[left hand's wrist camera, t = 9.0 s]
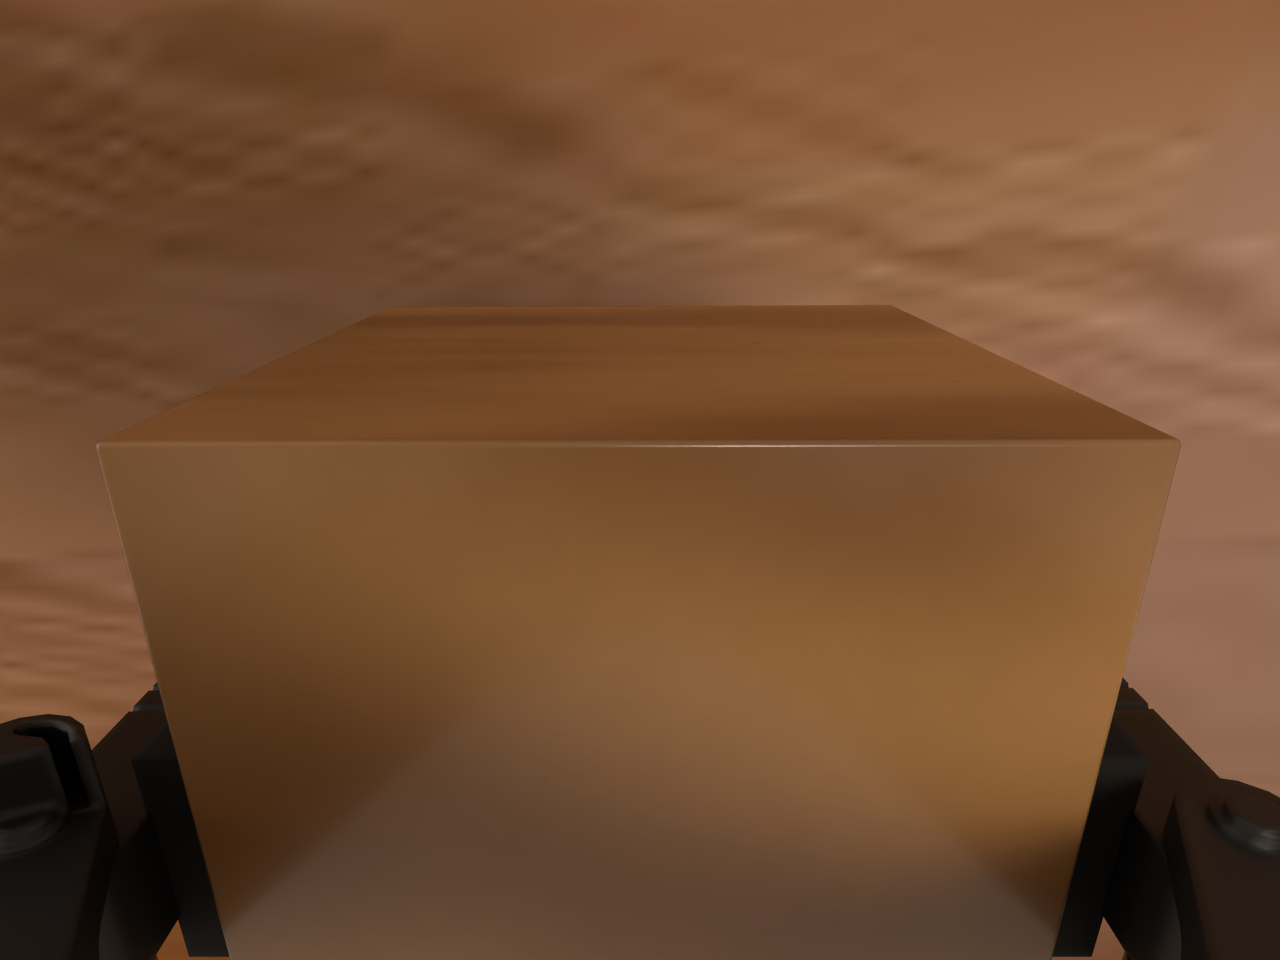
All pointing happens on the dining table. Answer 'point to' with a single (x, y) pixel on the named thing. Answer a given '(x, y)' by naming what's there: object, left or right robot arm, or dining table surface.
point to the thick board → (639, 634)
